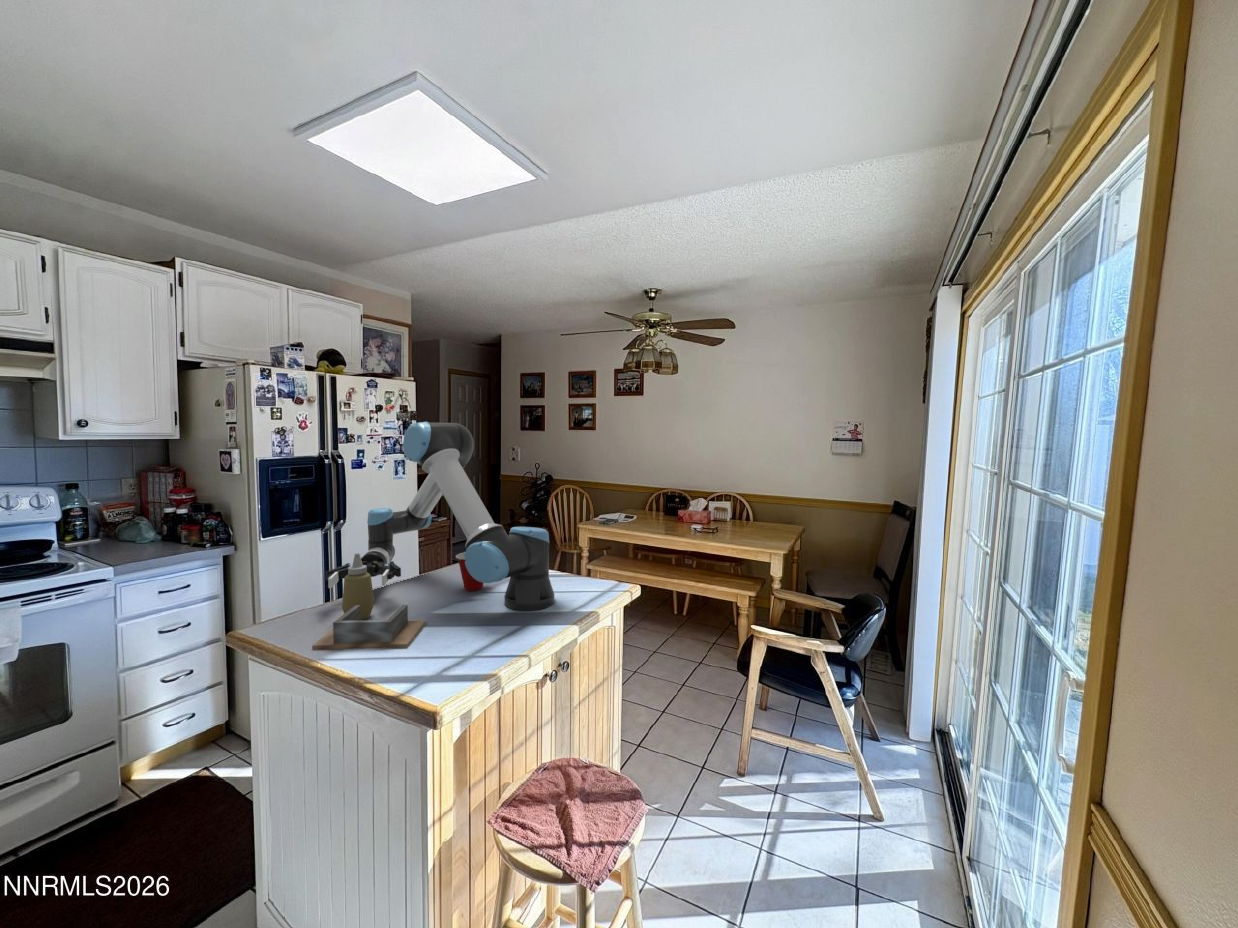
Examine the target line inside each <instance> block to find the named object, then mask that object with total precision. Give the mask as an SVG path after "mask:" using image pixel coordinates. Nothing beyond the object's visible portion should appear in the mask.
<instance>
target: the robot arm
mask: <svg viewBox="0 0 1238 928" xmlns="http://www.w3.org/2000/svg"><path fill="white" fill-rule="evenodd" d="M474 444H475V443H474V438H473V436H472V433H471V432H470V430H469V429H468V428H467V427H465V425H462V424H460V423H457V422H428V421H422V422H421V421H420V422H415V423H412V424H410V425H409V426H408V428H407V429H406V431H405V432H404V436H403V441H402V448H403V449H402V450H403V453H404V456H405V458H406V459H407V460H409V461H410V462H413V463H419V465H420V467H421V469H422V471H424V472H425V473H427V474H428V475H427V476H426V478H425V480H424V481H423V482H422V484H421V486H420V488H419V489H418V491H417V493H416V494H415V496H414V497H413V499H412V500H411V502H410V503H409V505H408V507H407V508H406V509H405V510H401V511H393V509H392V508H390V507H375V508H370V509H369V511H367V512H368V513H367V521H366V522H367V533H368V534H367V535H368V540H367V541H368V543H367V544H368V545H367V550H368V551H367V552H366V553H365V554H363V556H362V557H361V561H362V564H363V565H366V566H367V573H369V574H370V575H371V578H372V577H377V576H381V586H386V584H387V583H388V581H389V580H392V579H393V578H394V577H397V578H400V577H402V569H401V567H400V566H398V565H397V564H396V563H395V562H394V561H393V559H394V557H395V554H396V548H395V546H394V543H393V542H394V535H397V534H402V533H407V532H413V531H420V530H424V529H427V528H428V527H430V525H431V524H432V519H433V518H432V514H431V512H432V511H434V508H435V507H436V505H437V504H438V503H439V501H440V499H441V497H443V498H444V499H445V500H446V501H445V502H446V503H447V505H448V506H449V508H450V510H451V512H452V513H453V516H454V517H455V519H456V521H457V522H458V524H459V526H460V528H461V530H462V532H463V534H464V536H465V537H466V543H465V544H464V545H465V548H466V551H464V552H465V559H466V561H465V565H466V568H467V570H468V572H469V573H470V575H471V576H472V577H473V578H474V579H476V580H477V581H479V582H483V584H491V583H497V582H501V581H503V580H505V579H507V578H509V581H508V583H507V584H508V585H507V586H506V587H507V588H506V591H505V594H504V597H503V598H504V599H503V601H504V603H503V604H504V606H505V607H506V608H508V609H510V610H517V611H528V612H529V611H537V610H543V609H546V608H548V607H551V606H552V605H554V603H555V591H554V588H553V585H552V583H551V579H550V534H549V531H548V530H546V529H545V528H541V527H533V526H532V527H531V526H514V527H511V528H510V531H509V534H508V533H507V531H506V530H505V528H504V526H503V525H502V524H499V523H495V522H494V520H493V518H492V516H491V515H490V513H489V511H488V509H487V508H486V506H485V505H484V503H483V501H482V499H481V498H480V496H479V494H478V492H477V490H476V489H475V487H474V485H473V483H472V481H471V479H470V478H469V477H468V475H467V473H466V471H465V470H464V467H466V465H467V464H468V463H469V462H470V459H471V458H472V455H473V454H474V453H473V451H474V447H475V445H474ZM350 566H352V565H351V563H349V562H347V563H345V564H344V565H340V566H338V567H335V568H333V569H329V570H327V571H325V581H328V582H327V583H328V585H327V587H328V589H332V588H333V587H335V585H337V583H338V582H339V580H342V579H343V580H344V578H345V576H347V575H348V568H349V567H350Z"/></svg>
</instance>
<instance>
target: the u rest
mask: <svg viewBox="0 0 1238 928" xmlns="http://www.w3.org/2000/svg"><path fill="white" fill-rule="evenodd" d="M408 605H409V604H402V605H401V606H400V607H399V608H398V609H397V610H396V611H395V612H393V614H391V616H390V617H389V618H388V619H383V620H382V619H380V620H379V619H378V620H377V619H376V620H375V619H374V620H373V619H371V620H369V619H368V620H366V619H363V620H361V617H360V605H355V606H354V607H352V608H351V609H350V610H349V611H347V612H346V613H345V614H344V613H343V614H342V615H341V616H340V617H339V618H337V619H335V621H333V622H332V629H331V630H330V631H328V632H327V633H326V634H325V635H323V636H322V637H321V638H319V639H318V640H317V641H316V642H315V643H313V644H312V646H311V648H312V649H318V650H363V649H364V650H367V649H368V650H369V649H370V650H372V649H373V650H374V649H408V648H409V646H410V645H411V644H412V643H413V642H414V640H416V638H417V636H419V634H420V633H421V632H422V630H423V629H424V628H423V627H426V625H427V620H409V609H408V608H409V607H408ZM312 649H311V650H312Z"/></svg>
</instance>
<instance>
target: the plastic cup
mask: <svg viewBox="0 0 1238 928" xmlns="http://www.w3.org/2000/svg"><path fill="white" fill-rule="evenodd" d="M465 552H466V551H463V552H460V553H458V554H456V555H455V559H457V562H458V565H459V568H460V569H459V570H460V575H461V578H462V582H463V588H464V591H466V590H467V591H468V592H476V590H478V591H480V590H482V589H483V587H484V583H483V582H479V581H477V580H476V579H474V578H473V577H472V576H471V575H470V573H469V572H468V570H467V568H466V565H465V561H466V559H465ZM467 591H466V592H467Z"/></svg>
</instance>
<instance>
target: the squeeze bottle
mask: <svg viewBox="0 0 1238 928" xmlns="http://www.w3.org/2000/svg"><path fill="white" fill-rule="evenodd" d="M361 558H362V557H361V553H354V557H353V562H352V565H351V566H350V567H349V568H348V575H347V576H345V578H343V581H344V582H343V592H342V601H341V609H342V611H343V615H344V614H345V613H346V612H347V611H349V610H350V609H351V608H352V607H354V606H355V605H360V617H361V620H366V619H368V618H370V617H371V615H372V612H373V608H374V605H375V597H374V596H375V595H374V589H373V583H372V582H373V581H372V577H371V575H370V574H369V573H367V566H366V565H363V564H362V561H361Z"/></svg>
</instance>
